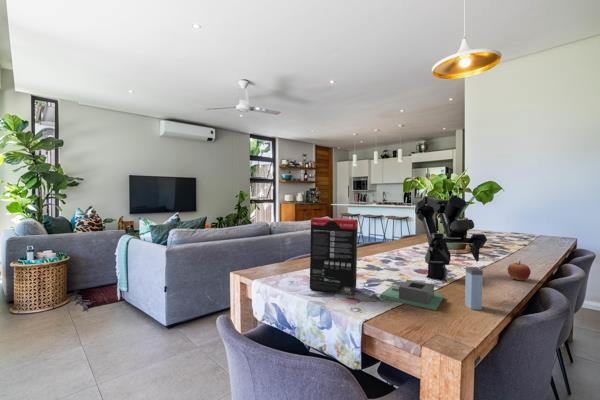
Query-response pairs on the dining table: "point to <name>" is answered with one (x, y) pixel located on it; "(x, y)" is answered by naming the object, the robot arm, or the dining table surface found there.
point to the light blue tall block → (473, 288)
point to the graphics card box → (333, 255)
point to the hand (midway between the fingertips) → (463, 260)
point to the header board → (396, 295)
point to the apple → (519, 271)
